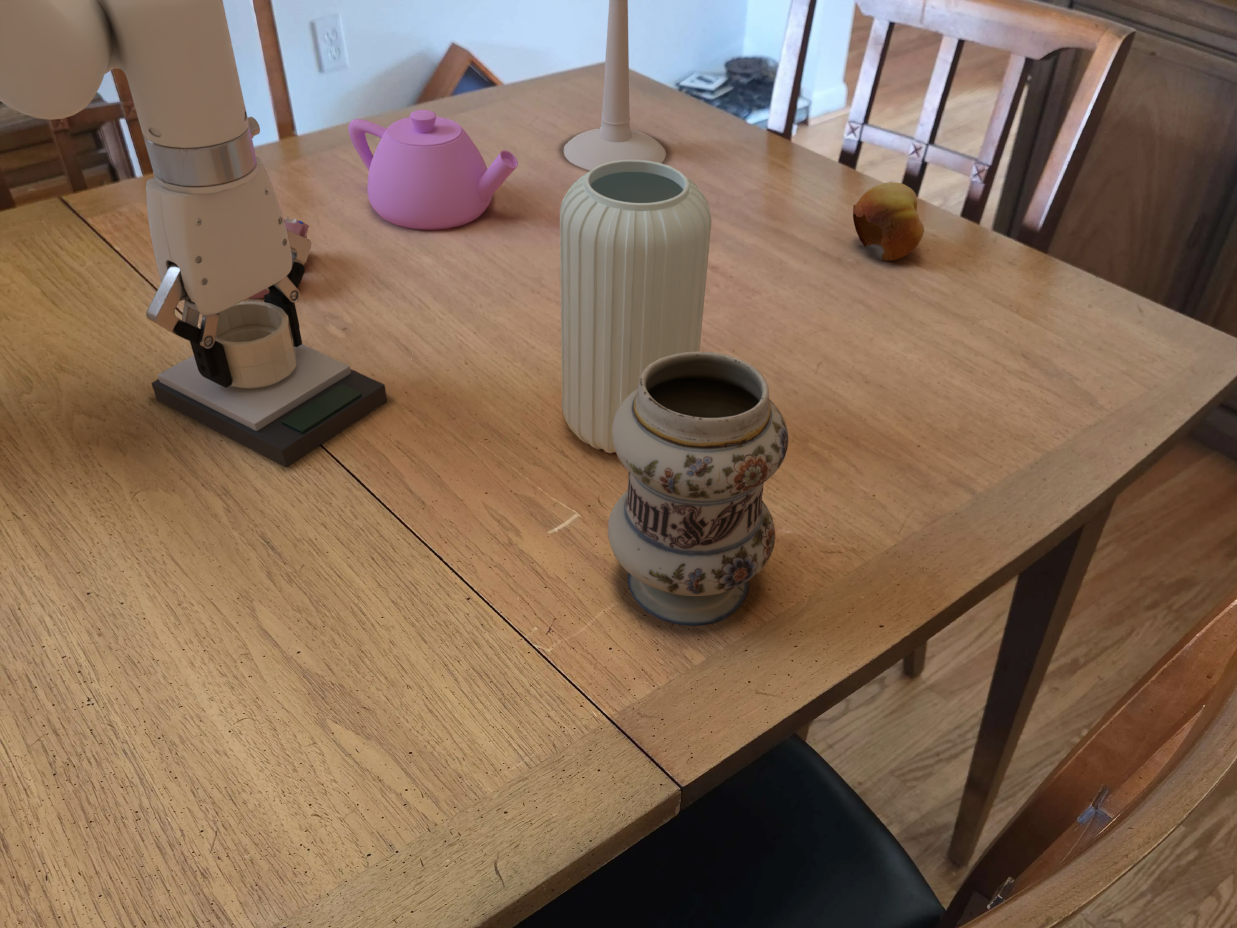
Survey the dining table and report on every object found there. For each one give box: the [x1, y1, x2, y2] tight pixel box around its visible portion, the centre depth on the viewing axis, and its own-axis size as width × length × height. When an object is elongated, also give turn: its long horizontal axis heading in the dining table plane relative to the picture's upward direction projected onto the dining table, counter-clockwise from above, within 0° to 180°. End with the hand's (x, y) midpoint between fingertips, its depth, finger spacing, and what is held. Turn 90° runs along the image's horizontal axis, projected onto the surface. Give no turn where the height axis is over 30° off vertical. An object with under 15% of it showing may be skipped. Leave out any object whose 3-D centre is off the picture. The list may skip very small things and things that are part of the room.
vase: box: [559, 160, 712, 454], centre depth 89 cm, size 12×12×22 cm
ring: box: [199, 300, 297, 389], centre depth 94 cm, size 7×7×5 cm
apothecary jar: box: [607, 351, 789, 627], centre depth 77 cm, size 12×12×18 cm
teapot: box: [347, 109, 519, 231], centre depth 121 cm, size 14×20×11 cm
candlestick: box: [563, 0, 667, 171], centre depth 126 cm, size 13×13×30 cm
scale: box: [151, 343, 388, 468], centre depth 96 cm, size 16×12×3 cm
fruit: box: [852, 181, 925, 262], centre depth 119 cm, size 8×8×8 cm
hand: (253, 359), depth 95 cm, fingers closed on ring, 7 cm apart
